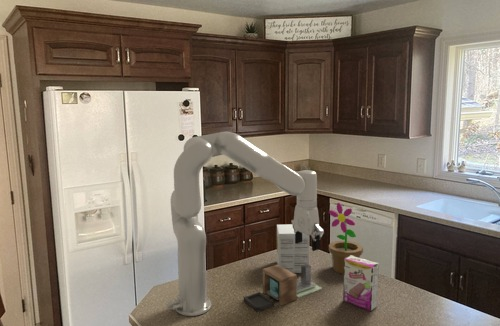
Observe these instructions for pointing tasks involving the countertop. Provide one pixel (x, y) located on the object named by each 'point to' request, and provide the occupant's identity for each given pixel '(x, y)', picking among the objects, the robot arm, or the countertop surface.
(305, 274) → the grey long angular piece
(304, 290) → the board
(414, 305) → the countertop surface
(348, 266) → the candy bar box
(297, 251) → the supplement box
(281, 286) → the tunnel
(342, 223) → the flowerpot
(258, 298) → the tray
